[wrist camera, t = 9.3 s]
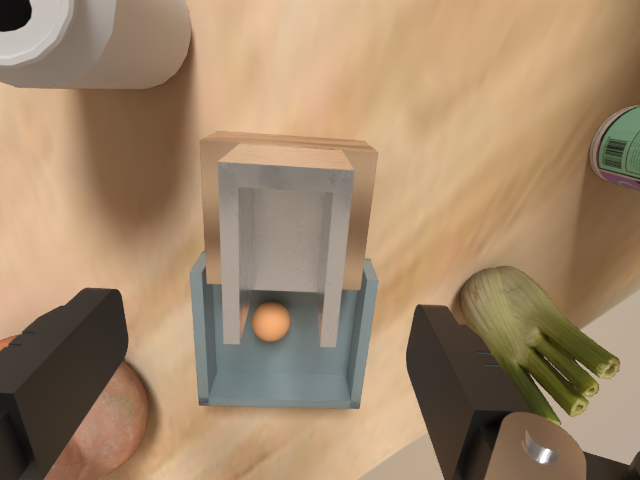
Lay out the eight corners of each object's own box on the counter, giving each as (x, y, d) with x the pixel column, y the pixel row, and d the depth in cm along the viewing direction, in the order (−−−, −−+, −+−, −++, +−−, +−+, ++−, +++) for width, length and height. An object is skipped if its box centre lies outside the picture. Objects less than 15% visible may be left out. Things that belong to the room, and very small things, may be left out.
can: (71, 76, 23) (-140, 64, 12) (63, -67, 21) (-220, -252, 9) (191, 100, 24) (95, 108, 13) (199, -35, 21) (86, -171, 10)
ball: (261, 291, 28) (245, 328, 26) (298, 304, 28) (285, 342, 26) (259, 302, 30) (245, 337, 29) (293, 315, 30) (281, 350, 29)
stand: (218, 131, 25) (199, 140, 20) (364, 141, 26) (378, 152, 21) (222, 252, 28) (206, 283, 24) (351, 258, 29) (360, 290, 24)
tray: (202, 251, 28) (189, 272, 25) (370, 259, 29) (378, 280, 26) (209, 374, 33) (198, 405, 29) (353, 377, 33) (359, 408, 30)
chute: (241, 142, 20) (217, 161, 15) (341, 149, 21) (354, 170, 15) (242, 284, 24) (223, 343, 18) (328, 288, 24) (335, 347, 19)
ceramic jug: (133, 467, 37) (41, 676, 23) (-26, 429, 34) (-233, 643, 21) (188, 326, 31) (108, 496, 18) (3, 266, 28) (-254, 416, 15)
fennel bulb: (464, 324, 32) (550, 450, 21) (438, 284, 30) (516, 397, 19) (525, 290, 31) (651, 403, 20) (502, 246, 29) (624, 343, 18)
